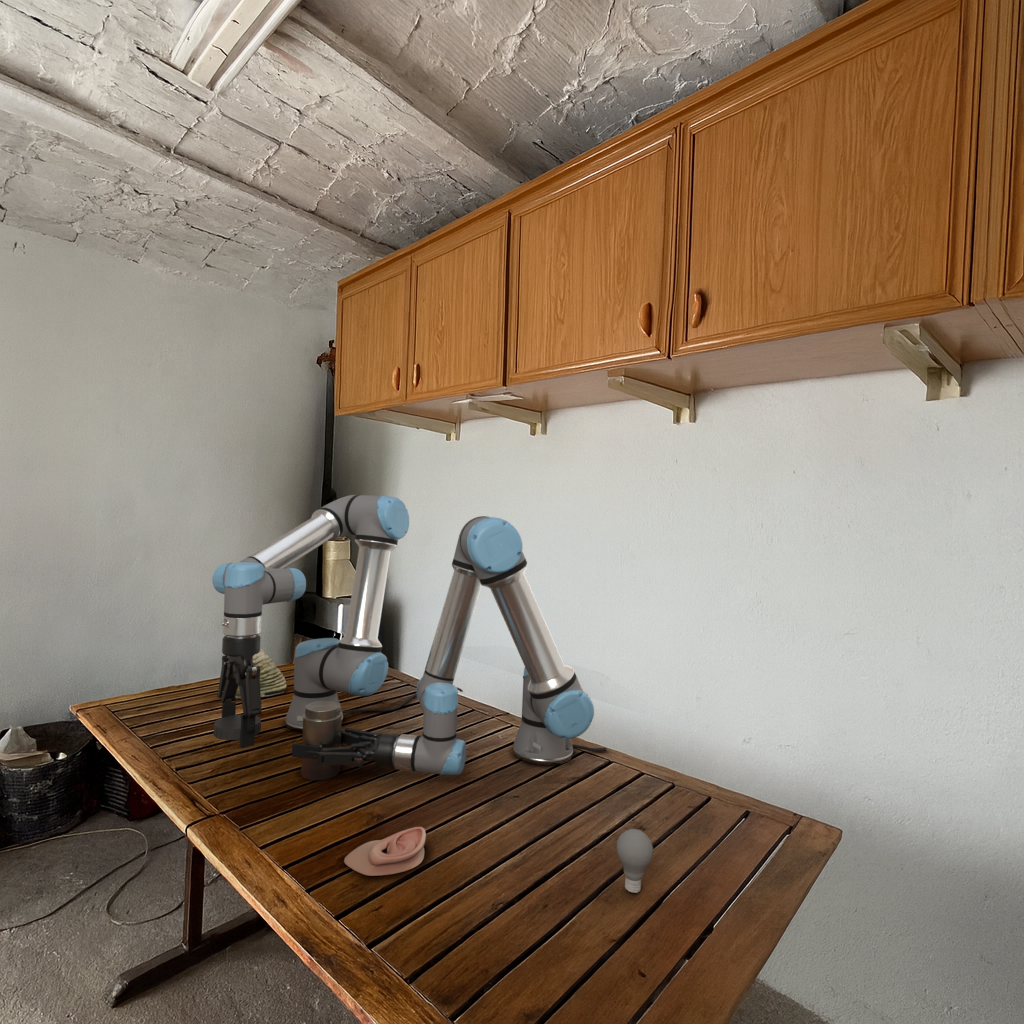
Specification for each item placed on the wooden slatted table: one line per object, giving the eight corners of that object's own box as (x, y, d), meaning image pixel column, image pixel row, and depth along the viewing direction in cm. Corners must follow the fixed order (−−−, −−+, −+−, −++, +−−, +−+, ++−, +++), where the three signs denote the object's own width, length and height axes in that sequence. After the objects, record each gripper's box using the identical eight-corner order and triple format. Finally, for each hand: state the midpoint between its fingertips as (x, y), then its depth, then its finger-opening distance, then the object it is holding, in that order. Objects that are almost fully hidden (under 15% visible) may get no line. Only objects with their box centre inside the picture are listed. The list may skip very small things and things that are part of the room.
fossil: (218, 695, 195) (220, 647, 195) (278, 685, 208) (279, 640, 207) (228, 703, 189) (230, 653, 188) (289, 692, 201) (290, 645, 201)
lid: (242, 722, 142) (242, 711, 142) (269, 730, 137) (270, 720, 137) (204, 733, 134) (204, 722, 134) (232, 743, 129) (232, 732, 129)
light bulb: (610, 879, 108) (613, 822, 108) (644, 879, 109) (647, 822, 109) (619, 902, 102) (622, 840, 102) (655, 901, 103) (658, 840, 103)
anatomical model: (336, 847, 108) (365, 815, 119) (335, 870, 108) (364, 836, 119) (410, 859, 105) (432, 825, 116) (409, 883, 105) (431, 846, 116)
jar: (345, 774, 145) (348, 707, 145) (309, 783, 140) (312, 714, 139) (330, 761, 151) (333, 697, 151) (295, 769, 146) (297, 703, 146)
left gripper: (204, 628, 140) (199, 729, 141) (246, 646, 125) (241, 759, 125) (237, 624, 146) (233, 722, 146) (282, 642, 131) (277, 750, 131)
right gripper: (380, 789, 132) (278, 778, 135) (410, 749, 154) (321, 741, 157) (381, 753, 132) (279, 743, 135) (411, 719, 153) (322, 711, 156)
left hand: (237, 739), depth 136 cm, fingers closed on lid, 9 cm apart
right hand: (302, 742), depth 146 cm, fingers closed on jar, 8 cm apart
